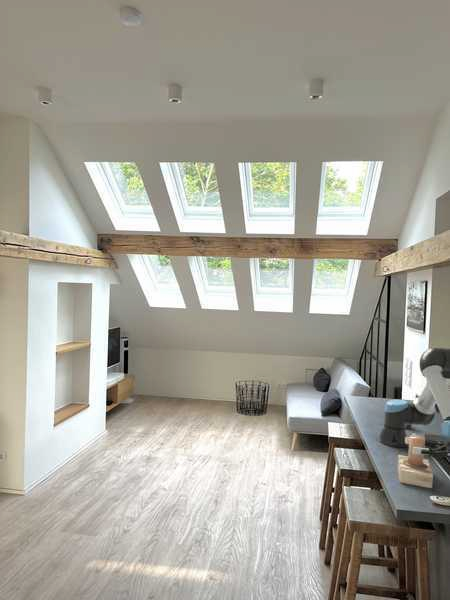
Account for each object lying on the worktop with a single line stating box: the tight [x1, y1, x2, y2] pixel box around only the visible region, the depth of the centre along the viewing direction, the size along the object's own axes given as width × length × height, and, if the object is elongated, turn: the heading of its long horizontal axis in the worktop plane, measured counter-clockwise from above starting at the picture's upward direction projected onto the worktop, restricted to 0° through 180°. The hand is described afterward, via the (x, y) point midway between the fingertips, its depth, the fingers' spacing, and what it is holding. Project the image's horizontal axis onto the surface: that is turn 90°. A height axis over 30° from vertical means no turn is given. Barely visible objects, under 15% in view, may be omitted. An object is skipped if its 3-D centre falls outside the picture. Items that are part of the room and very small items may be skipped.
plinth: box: [397, 454, 434, 489], centre depth 210 cm, size 20×13×6 cm, turn 162°
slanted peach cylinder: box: [407, 434, 426, 466], centre depth 210 cm, size 6×6×12 cm
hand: (409, 445), depth 210 cm, fingers open, 13 cm apart
